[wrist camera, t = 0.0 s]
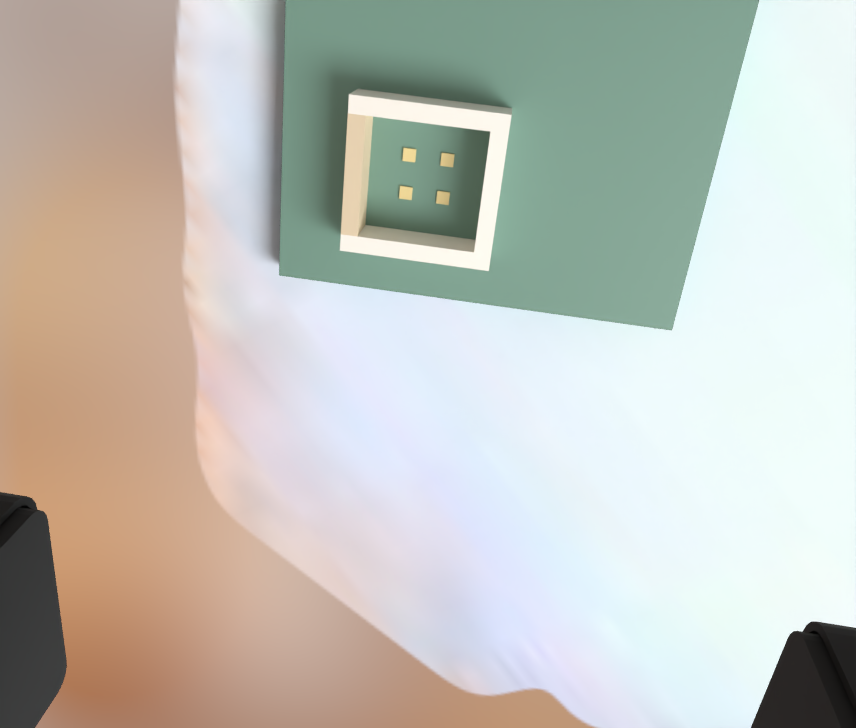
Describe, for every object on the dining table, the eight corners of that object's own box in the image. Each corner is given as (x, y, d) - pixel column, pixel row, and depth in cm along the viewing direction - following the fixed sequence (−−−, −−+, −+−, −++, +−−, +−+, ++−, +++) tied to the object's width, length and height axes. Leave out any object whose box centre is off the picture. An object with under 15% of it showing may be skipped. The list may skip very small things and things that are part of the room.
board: (295, -79, 35) (273, -85, 32) (758, -26, 33) (779, -27, 31) (285, 267, 42) (267, 288, 39) (667, 321, 41) (678, 346, 38)
